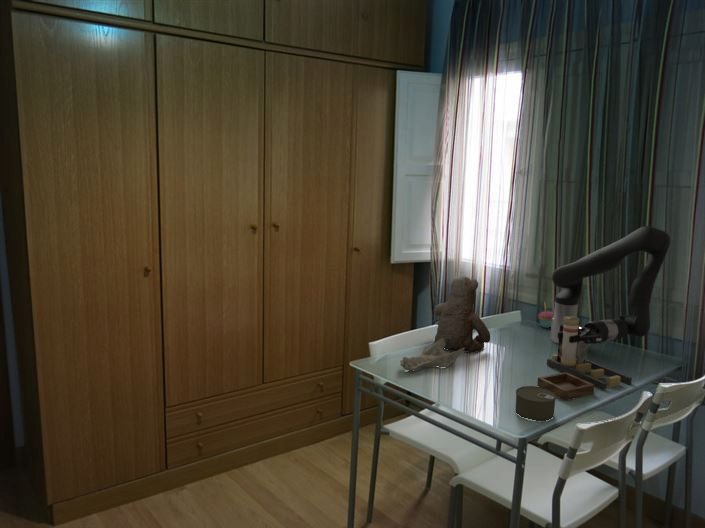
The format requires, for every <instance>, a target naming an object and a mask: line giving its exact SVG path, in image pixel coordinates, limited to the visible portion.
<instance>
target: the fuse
mask: <svg viewBox="0 0 705 528" xmlns="http://www.w3.org/2000/svg"><path fill="white" fill-rule="evenodd" d="M578 325H579V326H580V317H578V316H577V317H574V316H565V317H564V326H563V342H562V356H561V364H563V365H567V366H574V365H576V349H577V342H575V343H570V342H569V337H570V336H575V335H578Z"/></svg>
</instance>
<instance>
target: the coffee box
mask: <svg viewBox="0 0 705 528" xmlns="http://www.w3.org/2000/svg"><path fill="white" fill-rule="evenodd" d="M563 326H564V324H562V325H560V332H562V331H563ZM579 327H584V326H582V325H580V324H579V325H578V328H579ZM562 342H563V338H562V339H559V343H557V345H558V346H557V353H556V354H557V362H559V363H561V356H562ZM588 346H589V344H585V343H584V342H582V343H580V342H577V349H576V365H579V364H584V363H586V359H587V357H588V348H589V347H588ZM576 365H574V366H569V367H571V368H573V369H576ZM566 366H567V365H566Z"/></svg>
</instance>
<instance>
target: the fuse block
mask: <svg viewBox="0 0 705 528" xmlns="http://www.w3.org/2000/svg"><path fill="white" fill-rule="evenodd" d="M557 354H558V353H555V354H552V355H551V356H552V357H551V358H547V360H546V366H548V367H551V368H553V369H554V370H557V371H559V370H560V372H561V373H563V372H567V373H569V374H571V375H574V376H576V377H578V378H580V379H583V380H585V381H587V382H589V383H591V384H594V385H595V387H594V388H597V389H600V390H602V391H607V387H608V388H612V387H617V386H620V385H621V382H622V383H623V382H624V384H625V385H632V380H633V378H632V376H629V375H626V374H625V373H621V372H619V371H617V370H614V369H612V368H611V367H610V368H609V367H607V366H604V365H602V364H599V363H597V362H594V361H592V360H590V359H588V358H586V363H584V364H579V365H576V369H573V368H571V367H569V366H566V365H563V364H561V363H559V362H557ZM586 373H590V374H586ZM604 375H605V376H606V382H605V381H603V380H601V379H604V378H605V376H604Z"/></svg>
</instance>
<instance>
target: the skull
mask: <svg viewBox="0 0 705 528" xmlns="http://www.w3.org/2000/svg"><path fill="white" fill-rule="evenodd" d="M445 345H446V344H445V341H444V339H443V338H441V339H439V340H438V341H436V342H434V343H432V344H431V345H430V347H429V348H427V347H426V346H424V347H423V348H422V351H421V353H420V356H419V355H417V356H411V357H406V356H404V357H402V360H400V361H399V362H400V364H399V365H400V366H401V367H403V369H404V370H405V369H406V370H409V371H413V370H416V369H418V370H420V368H421V369H425V368H428V367H430V368H431V367H432V366H439V367H447V368H448V367H449V366H451V365H452V363H453V362H455V361H456V360H457V359H458V358H459V357H460V356H462V355H464V353H466V352H465V350H464V349H465V348H462V349H460V350H458V351H451V352H446V350H445V349H443V348H444V347H445ZM433 349H435V351H434V352H433V353H432V354H431V352H432V350H433ZM463 350H464V351H463ZM424 367H425V368H424ZM432 368H433V367H432ZM416 371H417V370H416ZM413 372H414V371H413Z"/></svg>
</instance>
